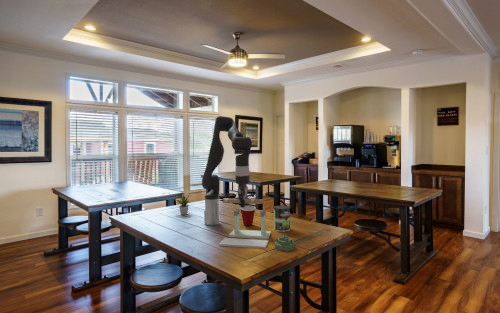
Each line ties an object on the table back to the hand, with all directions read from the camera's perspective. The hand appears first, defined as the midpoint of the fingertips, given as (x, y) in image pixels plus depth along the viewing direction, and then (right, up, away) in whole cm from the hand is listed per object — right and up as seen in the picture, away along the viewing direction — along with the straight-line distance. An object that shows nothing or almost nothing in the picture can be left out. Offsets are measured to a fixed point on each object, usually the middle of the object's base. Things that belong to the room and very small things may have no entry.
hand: (243, 206), depth 160 cm
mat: (0, -20, +1) cm, 20 cm away
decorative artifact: (+22, -21, -6) cm, 30 cm away
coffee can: (+24, -19, +26) cm, 40 cm away
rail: (0, +3, 0) cm, 3 cm away
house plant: (-48, -18, +74) cm, 90 cm away
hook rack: (+4, -20, +15) cm, 25 cm away
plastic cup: (+3, -19, +37) cm, 42 cm away
